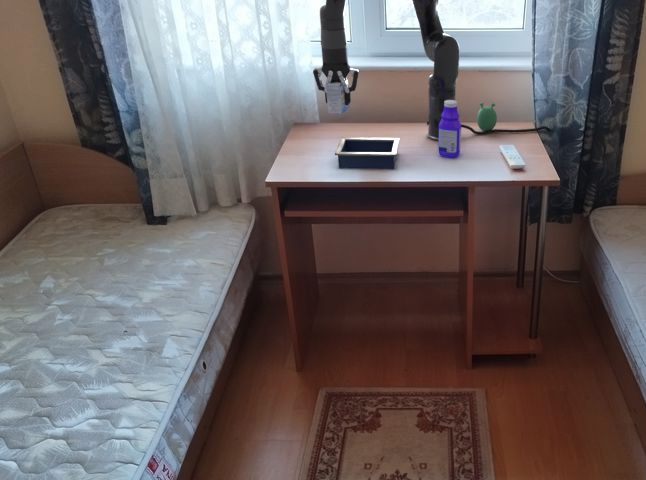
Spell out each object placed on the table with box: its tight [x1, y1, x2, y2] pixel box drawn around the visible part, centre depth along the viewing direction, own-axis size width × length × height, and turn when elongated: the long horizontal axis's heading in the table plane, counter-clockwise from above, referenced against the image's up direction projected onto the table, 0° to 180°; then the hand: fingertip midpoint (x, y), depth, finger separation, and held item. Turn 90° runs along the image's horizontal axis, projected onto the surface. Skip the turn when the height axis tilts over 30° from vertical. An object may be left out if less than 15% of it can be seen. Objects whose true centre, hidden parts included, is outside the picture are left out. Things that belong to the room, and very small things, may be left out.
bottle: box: [437, 99, 462, 159], centre depth 214 cm, size 7×6×17 cm
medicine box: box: [325, 79, 350, 115], centre depth 203 cm, size 8×4×9 cm, turn 169°
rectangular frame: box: [334, 137, 400, 170], centre depth 213 cm, size 19×15×5 cm
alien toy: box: [476, 101, 498, 132], centre depth 237 cm, size 7×8×10 cm
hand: (338, 104), depth 205 cm, fingers closed on medicine box, 5 cm apart
